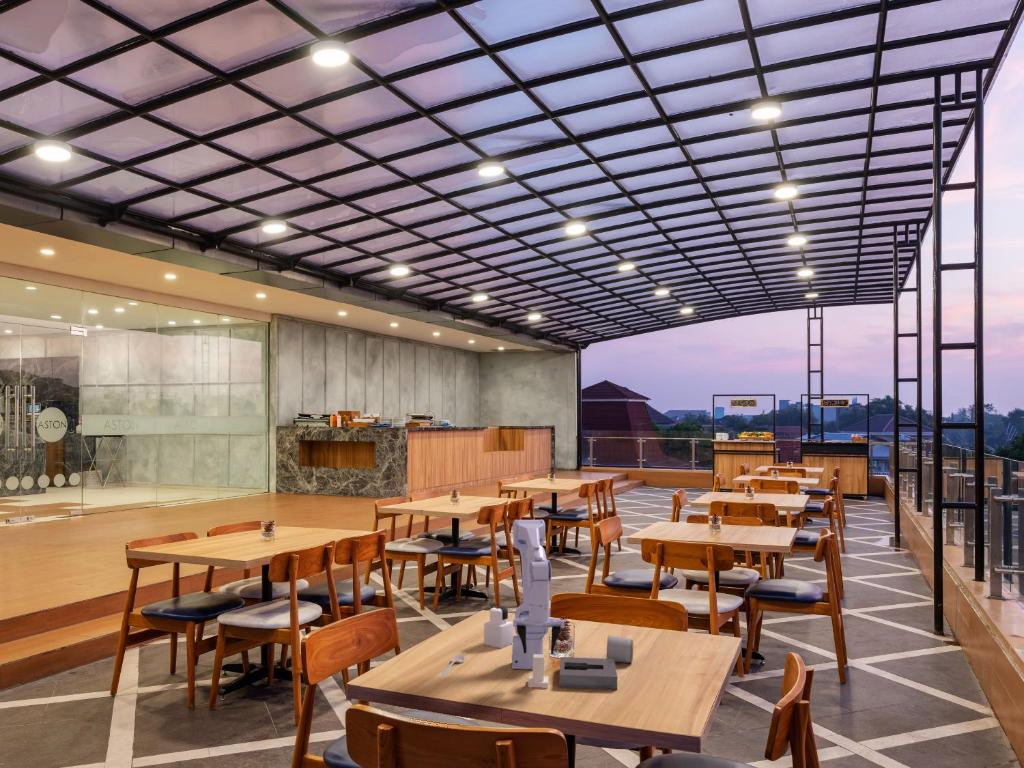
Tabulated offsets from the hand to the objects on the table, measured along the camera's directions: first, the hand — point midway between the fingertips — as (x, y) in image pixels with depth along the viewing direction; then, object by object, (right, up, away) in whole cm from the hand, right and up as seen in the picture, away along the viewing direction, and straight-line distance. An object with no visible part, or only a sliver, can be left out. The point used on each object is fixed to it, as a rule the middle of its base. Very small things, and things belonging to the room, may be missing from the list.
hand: (538, 652), depth 215 cm
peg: (0, -9, 0) cm, 9 cm away
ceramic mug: (+26, -10, +22) cm, 36 cm away
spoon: (-26, -10, +13) cm, 31 cm away
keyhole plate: (+14, -9, +4) cm, 18 cm away
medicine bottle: (-12, -11, +38) cm, 41 cm away
